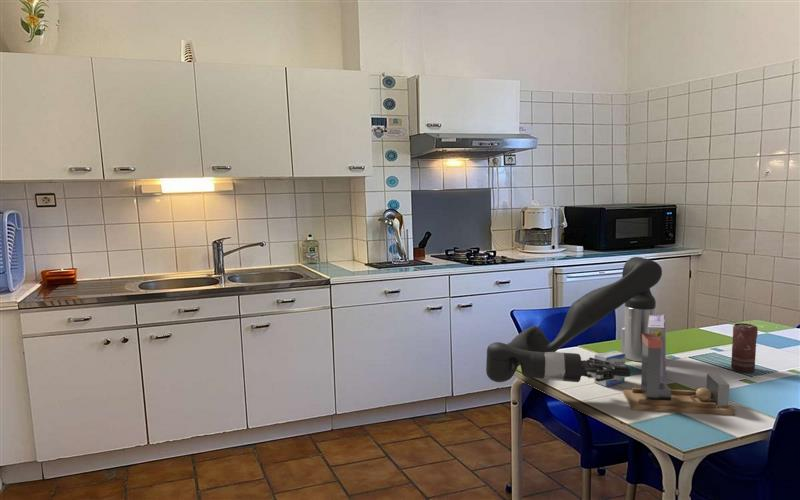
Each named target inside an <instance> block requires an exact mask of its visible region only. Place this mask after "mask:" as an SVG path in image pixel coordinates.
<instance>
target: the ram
mask: <svg viewBox="0 0 800 500" xmlns="http://www.w3.org/2000/svg"><path fill="white" fill-rule="evenodd" d="M642 341H643V344H642V362H641V379H640V381H641V382H640V383H641V384H640V388H641V392H642V394H643V395H644V397H645V398H646V399H650V400H670V401H671V390H672V389H671V388H670V387H669V385H668V384H667V383H666V382H665V383H660V357H661V347H662V340H661V339H660V338H659V337H658V336H657V335H656V334H644V333H642Z"/></svg>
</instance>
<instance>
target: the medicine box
mask: <svg viewBox="0 0 800 500" xmlns="http://www.w3.org/2000/svg"><path fill="white" fill-rule="evenodd" d="M594 359H598V360H602V361H606V362H609V363H610V364H613V365H614V366H625V365H626V358H625V354H624V353H621V351H619V350H618V351H617V350H610V351H606V352H605V351H604V352H600V353H597V354H594ZM625 367H626V366H625ZM625 377H626V376H615V377H614V379H609V380H604V381H599V382H598V381H596V378H593V379H594V381H593V382H594V383H595V384H598V385H600V386H603V387H605V388H607V387H612V386H615V385H618V384H622V383H624V382H625Z"/></svg>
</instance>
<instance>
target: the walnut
mask: <svg viewBox="0 0 800 500" xmlns="http://www.w3.org/2000/svg"><path fill="white" fill-rule="evenodd" d="M695 391H696V396H697V398H698V399H699V400H701V401H708V400H709V399H710V398H711V392H710V391H709V390H708V389H707V387H705V386H704V387H703V386H702V387H699V388H697V390H695Z"/></svg>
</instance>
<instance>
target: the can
mask: <svg viewBox="0 0 800 500" xmlns="http://www.w3.org/2000/svg"><path fill="white" fill-rule="evenodd" d="M758 333H759V332H758V326H756V325H754V324H751V323H743V322H742V323H741V322H739V323H734V326H732V343H731V345H732V347H731V364H730V365H731V366H730V367H731V369H732V370H733V371H735V372H738V373H743V374H744V373H745V374H749V373H751V374H752V373H753V372H754V371H755V370H756V353H757V339H758V338H757V337H758Z"/></svg>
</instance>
